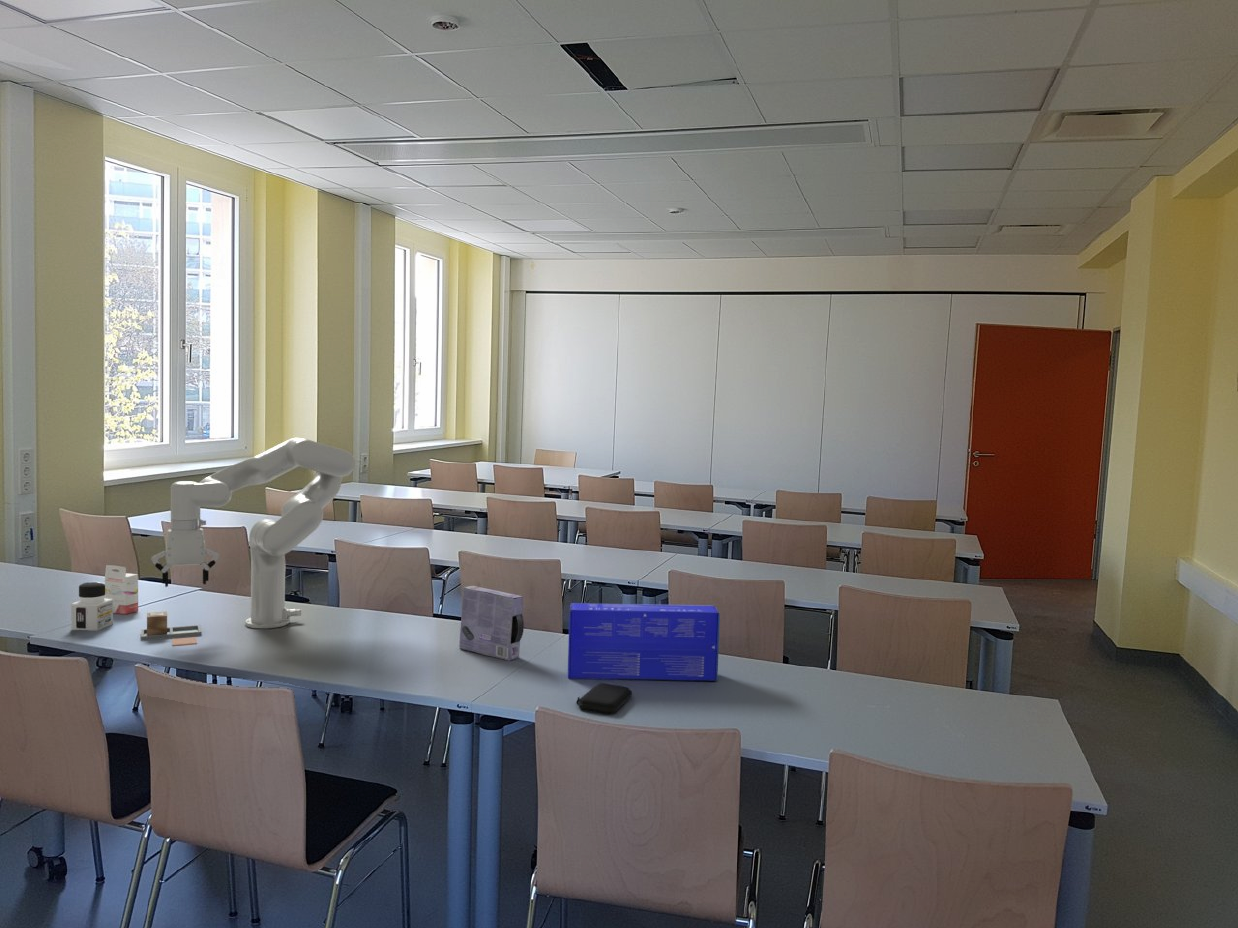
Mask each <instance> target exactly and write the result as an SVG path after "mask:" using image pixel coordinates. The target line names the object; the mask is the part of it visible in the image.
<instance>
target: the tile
mask: <svg viewBox="0 0 1238 928" xmlns="http://www.w3.org/2000/svg"><path fill="white" fill-rule="evenodd" d="M171 645H172V647H175V646H176V647H177V646H178V647H179V646H189V645H190V646H191V645H198V641H197V636H190V637H178V638H171Z"/></svg>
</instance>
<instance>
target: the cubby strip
mask: <svg viewBox="0 0 1238 928" xmlns="http://www.w3.org/2000/svg"><path fill="white" fill-rule="evenodd" d="M199 636H202V627H201V625H200V624H193V625H184V626H183V625H180V626H167V634H161V635H149V636H147V628H143V629H141V630H140V641H151V640H162V639H178V638H189V637H199Z"/></svg>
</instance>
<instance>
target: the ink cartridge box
mask: <svg viewBox="0 0 1238 928" xmlns="http://www.w3.org/2000/svg"><path fill="white" fill-rule="evenodd" d="M113 570H117V571H113ZM104 584H105V598H104V599H113V614H120V615H129V614H134V613H137V612H139V574H137V573H127V567H126V566H119V565H111V564H110V565H109V564H106V565H105V575H104Z"/></svg>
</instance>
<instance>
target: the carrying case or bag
mask: <svg viewBox="0 0 1238 928" xmlns="http://www.w3.org/2000/svg"><path fill="white" fill-rule="evenodd" d="M632 695H633V692H632V690H631V689H630V687H628V686H624V685H623V686H622V685H616V684H610V683H603V682H602V683H598V684H596V685H594V686H592V688H591V689H590V690H589V691H587V692H586V693H585V694H584V695H582V696H581V697H580V696H578V697H577V698H576V705H577V706H578V707H579V708H580V710H582V711H583V712H584V711H586V712H591V713H595V714H596V713H597V714H604V715H614V714H616V713H617V711H619V709H621V707H622V706H624V705H625V703H626V702H627V701H629V699H630V698H631V697H632Z"/></svg>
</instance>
